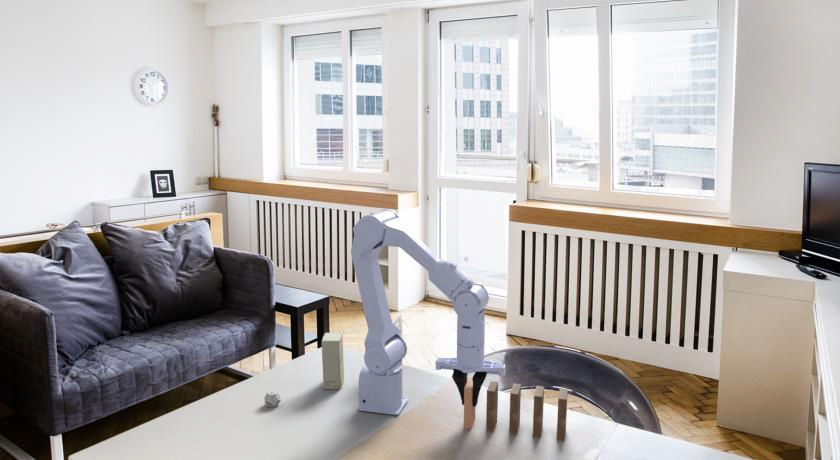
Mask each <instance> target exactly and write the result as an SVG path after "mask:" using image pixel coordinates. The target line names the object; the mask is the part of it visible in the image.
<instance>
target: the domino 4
mask: <svg viewBox="0 0 840 460" xmlns="http://www.w3.org/2000/svg"><path fill="white" fill-rule="evenodd" d="M568 391H569V390H568V388H560V387H559V392H558V401H557V420H556V421H557V423H556V441H561V442H566V441H565V440H566V431H567V417H568V415H567V411H568Z"/></svg>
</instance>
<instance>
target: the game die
mask: <svg viewBox="0 0 840 460" xmlns="http://www.w3.org/2000/svg"><path fill="white" fill-rule="evenodd" d="M263 399H264V403H265V405H266V406H267V407H269V408H275V407H277V406H279V404H280V402H282V399H281V394H279V392H278V391H275V390H270V391H268V392H267V393H266V394H265V396H264V398H263Z"/></svg>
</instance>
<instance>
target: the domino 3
mask: <svg viewBox="0 0 840 460" xmlns="http://www.w3.org/2000/svg"><path fill="white" fill-rule="evenodd" d="M544 397H545V386H543V385H542V386H541V385H536V387H535V391H534V395H533V413H532V414H533V416H532V419H533V420H532V422H533V423H532V438H536V439H537V438H538V439H541V438H542V432H543V426H544V425H543V424H544V423H543V421H544V403H545V401H544Z"/></svg>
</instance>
